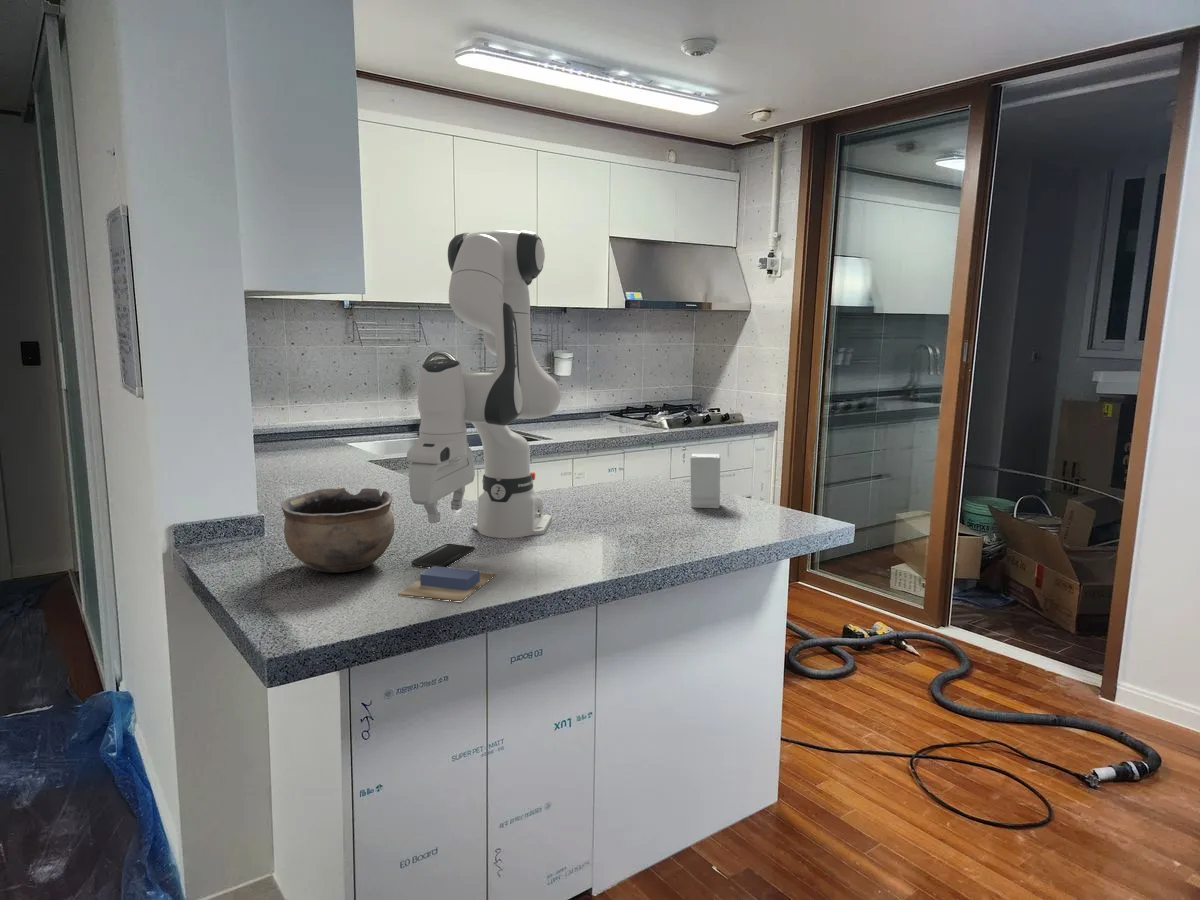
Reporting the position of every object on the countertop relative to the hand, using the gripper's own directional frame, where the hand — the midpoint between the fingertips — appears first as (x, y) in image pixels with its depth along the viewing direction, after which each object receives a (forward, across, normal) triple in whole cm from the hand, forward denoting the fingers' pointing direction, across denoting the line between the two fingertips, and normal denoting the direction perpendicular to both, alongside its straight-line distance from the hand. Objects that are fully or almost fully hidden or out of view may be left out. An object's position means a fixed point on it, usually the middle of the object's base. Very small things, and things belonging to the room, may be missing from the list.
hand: (445, 515), depth 149 cm
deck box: (+12, +1, +6) cm, 14 cm away
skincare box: (+16, -80, +40) cm, 91 cm away
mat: (+14, +1, +1) cm, 14 cm away
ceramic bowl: (+14, -2, -25) cm, 29 cm away
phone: (+15, -15, -8) cm, 23 cm away
